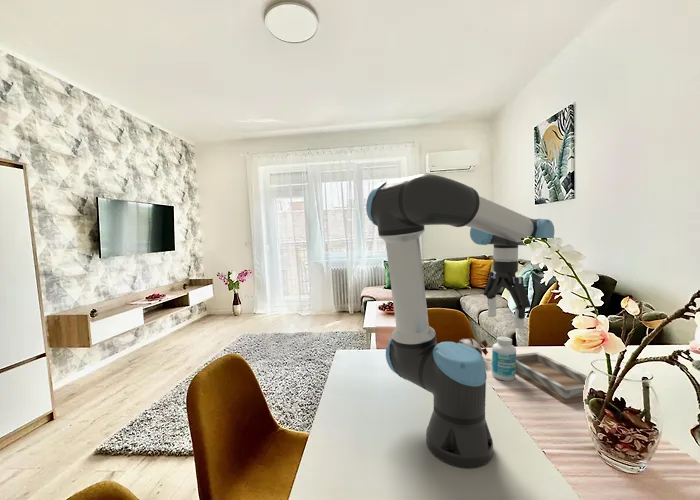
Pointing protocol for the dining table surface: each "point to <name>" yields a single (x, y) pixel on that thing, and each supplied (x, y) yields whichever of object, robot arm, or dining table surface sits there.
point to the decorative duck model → (475, 345)
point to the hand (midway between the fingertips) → (504, 321)
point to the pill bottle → (504, 359)
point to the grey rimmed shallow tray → (551, 376)
